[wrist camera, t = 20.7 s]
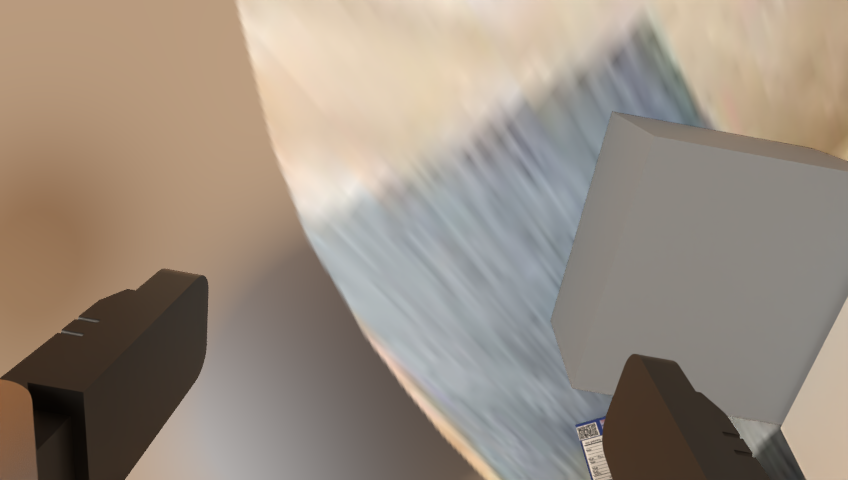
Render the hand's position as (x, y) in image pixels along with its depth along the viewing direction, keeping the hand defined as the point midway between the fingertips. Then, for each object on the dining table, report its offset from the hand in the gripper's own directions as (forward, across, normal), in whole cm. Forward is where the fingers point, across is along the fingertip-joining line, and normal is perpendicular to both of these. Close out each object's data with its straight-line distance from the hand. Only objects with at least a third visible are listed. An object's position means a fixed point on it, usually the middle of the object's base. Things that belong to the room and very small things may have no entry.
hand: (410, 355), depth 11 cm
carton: (+36, -21, +8) cm, 43 cm away
